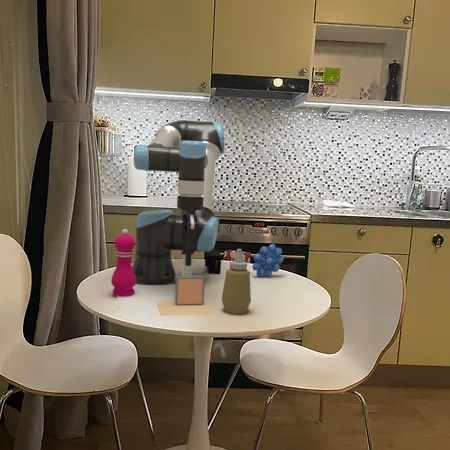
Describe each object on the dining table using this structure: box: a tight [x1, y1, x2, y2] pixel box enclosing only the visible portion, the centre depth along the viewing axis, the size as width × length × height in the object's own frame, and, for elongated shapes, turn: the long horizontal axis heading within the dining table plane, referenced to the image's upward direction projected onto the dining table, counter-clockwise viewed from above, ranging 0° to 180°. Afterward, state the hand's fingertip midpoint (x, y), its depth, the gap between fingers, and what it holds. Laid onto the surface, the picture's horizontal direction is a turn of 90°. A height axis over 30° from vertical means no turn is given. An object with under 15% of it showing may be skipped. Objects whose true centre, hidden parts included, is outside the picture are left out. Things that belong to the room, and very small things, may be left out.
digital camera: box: [204, 249, 222, 275], centre depth 188 cm, size 10×5×7 cm, turn 6°
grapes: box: [252, 243, 284, 278], centre depth 184 cm, size 12×7×12 cm, turn 108°
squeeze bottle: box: [221, 248, 252, 315], centre depth 141 cm, size 8×8×18 cm
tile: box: [174, 275, 206, 305], centre depth 145 cm, size 2×8×8 cm, turn 102°
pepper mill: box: [110, 228, 137, 298], centre depth 151 cm, size 7×7×20 cm
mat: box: [155, 300, 216, 316], centre depth 142 cm, size 12×15×1 cm
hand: (186, 275), depth 150 cm, fingers closed
